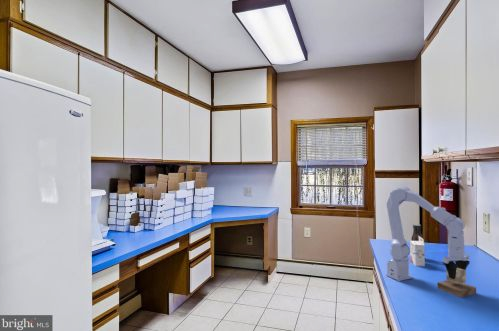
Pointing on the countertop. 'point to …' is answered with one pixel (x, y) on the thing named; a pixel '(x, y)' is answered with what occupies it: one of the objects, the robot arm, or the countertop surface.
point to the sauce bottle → (416, 232)
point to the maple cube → (458, 276)
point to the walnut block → (456, 288)
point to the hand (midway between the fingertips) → (456, 277)
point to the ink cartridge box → (417, 252)
